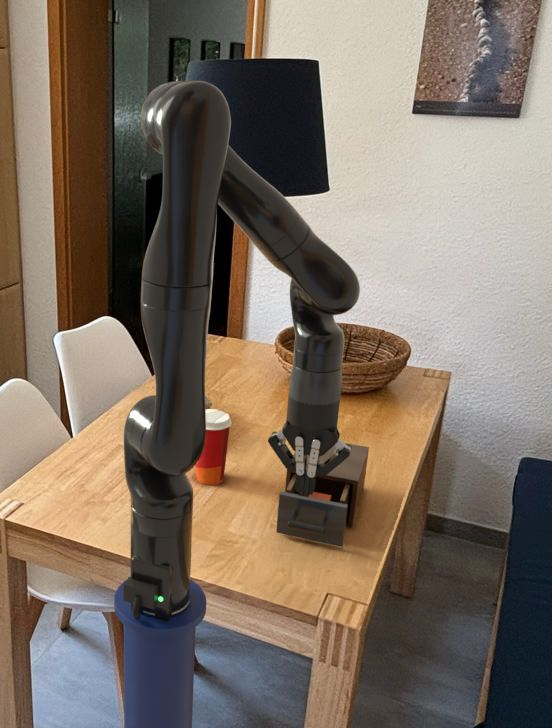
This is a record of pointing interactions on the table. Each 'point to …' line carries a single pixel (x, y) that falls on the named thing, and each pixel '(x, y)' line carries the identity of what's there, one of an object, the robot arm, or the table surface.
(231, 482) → the table surface
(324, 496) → the block
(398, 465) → the table surface
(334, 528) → the drawer
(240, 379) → the table surface
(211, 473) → the paper cup
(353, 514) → the cabinet
